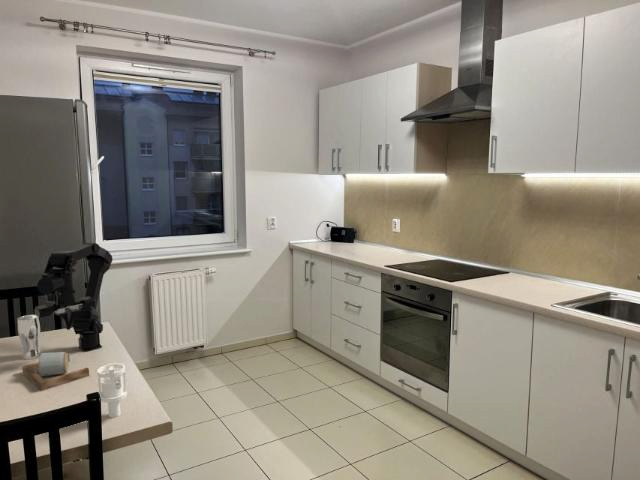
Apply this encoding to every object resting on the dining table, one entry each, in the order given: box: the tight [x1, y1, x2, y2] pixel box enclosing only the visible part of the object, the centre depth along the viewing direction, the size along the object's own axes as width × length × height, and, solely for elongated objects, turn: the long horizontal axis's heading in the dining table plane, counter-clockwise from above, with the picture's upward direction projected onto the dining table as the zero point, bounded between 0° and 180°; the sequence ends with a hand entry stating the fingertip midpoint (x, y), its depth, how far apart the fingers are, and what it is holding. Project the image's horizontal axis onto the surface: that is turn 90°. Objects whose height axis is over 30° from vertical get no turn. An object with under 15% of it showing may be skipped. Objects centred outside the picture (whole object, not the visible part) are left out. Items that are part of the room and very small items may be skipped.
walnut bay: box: [21, 354, 90, 392], centre depth 159 cm, size 14×19×2 cm
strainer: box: [96, 363, 128, 419], centre depth 132 cm, size 7×7×15 cm
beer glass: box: [17, 314, 42, 360], centre depth 174 cm, size 7×7×15 cm
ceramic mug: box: [38, 351, 69, 377], centre depth 161 cm, size 11×8×8 cm
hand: (68, 329), depth 168 cm, fingers closed
